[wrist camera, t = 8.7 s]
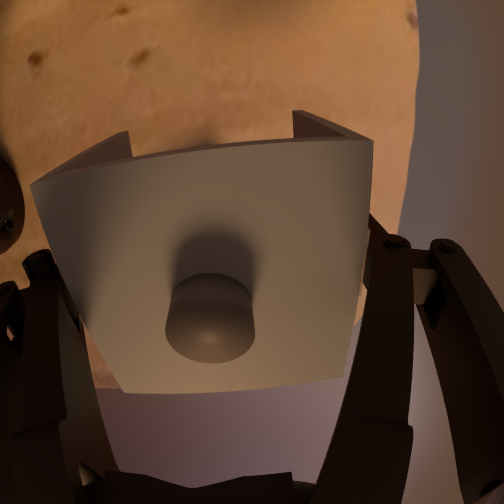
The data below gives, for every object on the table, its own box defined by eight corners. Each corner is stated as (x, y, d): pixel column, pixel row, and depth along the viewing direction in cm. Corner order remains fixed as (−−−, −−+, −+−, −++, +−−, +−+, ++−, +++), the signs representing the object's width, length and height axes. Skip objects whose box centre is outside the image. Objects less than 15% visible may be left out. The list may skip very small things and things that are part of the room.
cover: (119, 132, 14) (5, 202, 6) (302, 110, 14) (396, 152, 6) (154, 282, 18) (119, 416, 10) (304, 267, 18) (350, 400, 10)
